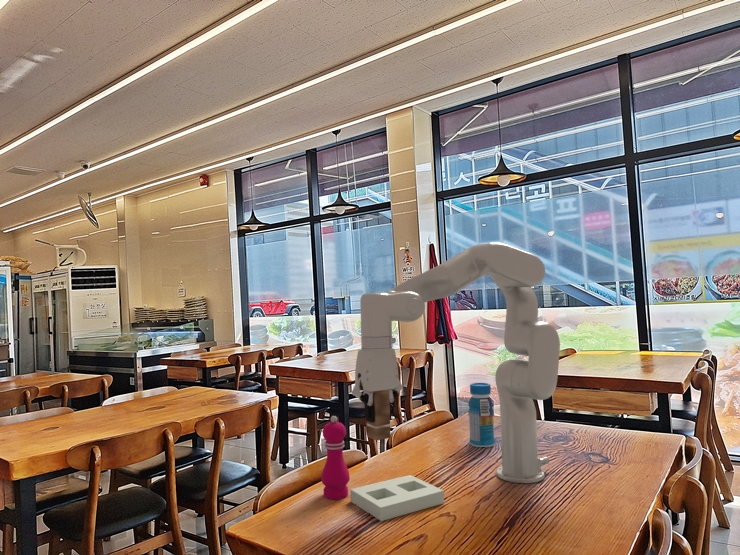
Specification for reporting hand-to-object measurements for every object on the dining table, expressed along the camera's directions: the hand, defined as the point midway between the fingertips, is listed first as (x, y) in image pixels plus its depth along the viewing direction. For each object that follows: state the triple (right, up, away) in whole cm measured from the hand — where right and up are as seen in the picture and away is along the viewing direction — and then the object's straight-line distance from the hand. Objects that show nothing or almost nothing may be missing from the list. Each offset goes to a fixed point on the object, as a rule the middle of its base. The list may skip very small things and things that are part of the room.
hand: (378, 419), depth 129 cm
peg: (0, -4, 0) cm, 4 cm away
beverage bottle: (+35, -22, +49) cm, 64 cm away
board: (+5, -21, +2) cm, 21 cm away
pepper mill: (-11, -21, +8) cm, 25 cm away
